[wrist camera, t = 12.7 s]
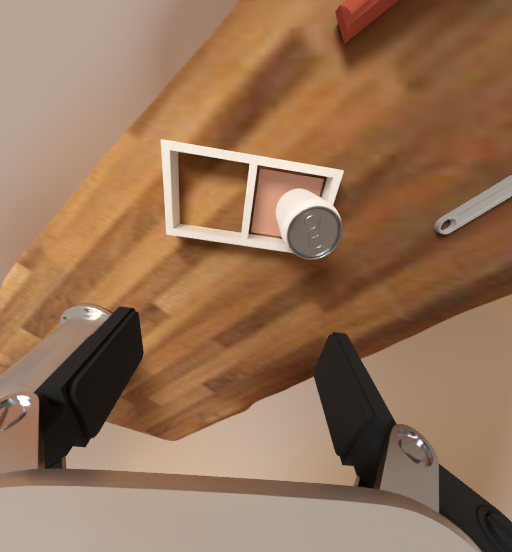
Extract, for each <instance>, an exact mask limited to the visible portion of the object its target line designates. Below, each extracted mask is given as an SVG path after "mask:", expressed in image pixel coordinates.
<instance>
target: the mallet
mask: <svg viewBox="0 0 512 552" xmlns="http://www.w3.org/2000/svg"><path fill="white" fill-rule="evenodd" d="M397 1H399V0H346V1H345V2H344V3H342V4H341V5H340V6H339V7H338V9H337V10H336V17H337V21H338V24H339V27H340V31H341V34H342V38H343V41H344V43H346V42H347V41H349V40H350V39H351V38H352V37H354V36H355V35H356V34H357V33H359V32H360V31H361V30H362V29H364V28H365V27H366V26H367V25H369V24H370V23H371V22H372V21H374V20H375V19H376V18H377V17H379V16H380V15H381V14H382V13H384V12H385V11H386V10H387V9H389V8H390V7H391V6H392V5H394V4H395V3H396V2H397Z"/></svg>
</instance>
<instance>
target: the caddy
mask: <svg viewBox="0 0 512 552" xmlns="http://www.w3.org/2000/svg"><path fill="white" fill-rule="evenodd" d="M161 149H162V166H163V183H164V200H165V218H166V234H167V235H174V236H181V237H188V238H195V239H201V240H208V241H215V242H222V243H229V244H235V245H242V246H249V247H256V248H263V249H269V250H276V251H283V252H290V253H292V252H291V251H290V250H289V249H288V248H287V247H286V245H285V244H284V242H283V239H279V238H272V237H266V236H259V235H252V234H248V233H249V225H250V218H251V211H252V203H253V196H254V188H255V181H256V173H257V166H258V165H261V166H267V167H273V168H279V169H285V170H291V171H297V172H303V173H308V174H314V175H320V176H326V177H327V179H326V183H325V186H324V190H323V193H322V197H321V198H322V199H324V200H326V201H327V202H329V203H330V204H331V205H333V204H334V201H335V198H336V194H337V191H338V188H339V185H340V182H341V178H342V175H343V172H344V170H338V169H332V168H326V167H321V166H315V165H309V164H303V163H297V162H291V161H286V160H280V159H274V158H268V157H262V156H256V155H251V154H245V153H239V152H233V151H227V150H221V149H216V148H210V147H204V146H198V145H192V144H186V143H180V142H175V141H169V140H163V139H161ZM178 152H184V153H190V154H196V155H202V156H208V157H214V158H220V159H226V160H231V161H237V162H243V163H249V164H250V165H249V173H248V181H247V190H246V198H245V207H244V215H243V224H242V232H241V233H239V232H232V231H226V230H219V229H212V228H206V227H199V226H193V225H186V224H180V207H179V168H178ZM323 181H324V179H320V178H314V177H308V176H302V175H296V174H290V173H284V172H278V171H273V170H267V169H261V168H260V172H259V180H258V187H257V194H256V201H255V208H254V215H253V222H252V229H251V232H253V233H260V234H266V235H273V236H279V237H282V236H281V233H280V230H279V226H278V223H277V219H276V206H277V203H278V201H279V200H280V198H281V197H282V196H283V195H284V194H285V193H287V192H288V191H290V190H293V189H298V188H299V189H305V190H308V191H310V192H312V193H313V194H315V195H317V196H320V192H321V188H322V185H323Z"/></svg>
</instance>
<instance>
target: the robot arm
mask: <svg viewBox="0 0 512 552" xmlns="http://www.w3.org/2000/svg"><path fill="white" fill-rule="evenodd" d="M60 323H61V326H60V327H59V328H58V329H56V330H55V331H54V332H53V333H51V334H50V335H49V336H48V337H47V338H45V339H44V340H43V341H42V342H40V343H39V344H38V345H37V346H35V347H34V348H33V349H32V350H31V351H29V352H28V353H27V354H26V355H24V356H23V357H22V358H21V359H20V360H18V361H17V362H16V363H15V364H13V365H12V366H11V367H10V368H9V369H7V370H6V371H5V372H4V373H2V374H1V375H0V552H512V522H511V521H510V520H509V519H508V518H507V517H506V516H505V515H503V514H502V513H501V512H500V511H499V510H498V509H496V508H495V507H494V506H493V505H491V504H490V503H489V502H487V501H486V500H485V499H483V498H482V497H481V496H480V495H478V494H477V493H476V492H475V491H473V490H472V489H471V488H469V487H468V486H467V485H466V484H464V483H463V482H462V481H460V480H459V479H458V478H457V477H455V476H454V475H453V474H451V473H450V472H449V471H448V470H446V469H445V468H443V467H442V466H441V465H440V464H439V462H438V457H437V455H436V453H435V451H434V449H433V447H432V446H431V445H430V443H429V442H428V441H427V440H426V439H425V438H424V436H423V435H421V434H420V433H419V432H418V431H416V430H415V429H413V428H411V427H410V426H407V425H404V424H396V423H395V421H394V419H393V417H392V415H391V413H390V411H389V410H388V408H387V406H386V404H385V402H384V401H383V399H382V397H381V395H380V393H379V391H378V390H377V388H376V386H375V384H374V383H373V381H372V379H371V377H370V375H369V373H368V372H367V370H366V368H365V366H364V365H363V363H362V361H361V359H360V358H359V356H358V354H357V352H356V350H355V348H354V347H353V345H352V343H351V341H350V339H349V338H348V336H347V334H345V333H337V332H333V333H332V335H329V336H328V339H327V341H326V343H325V346H324V348H323V350H322V353H321V355H320V358H319V360H318V362H317V365H316V367H315V370H314V378H315V381H316V385H317V389H318V392H319V396H320V400H321V403H322V406H323V410H324V414H325V417H326V421H327V424H328V428H329V431H330V435H331V439H332V442H333V446H334V449H335V452H336V454H337V455H338V456H340V459H341V462H342V465H349V466H354V468H355V471H356V474H357V477H356V480H355V484H354V486H343V485H332V484H319V483H305V482H290V481H276V480H260V479H245V478H229V477H212V476H197V475H180V474H163V473H145V472H128V471H110V470H84V469H83V470H82V469H66V457H65V456H66V455H67V454H68V453H69V451H70V450H71V448H72V447H73V446H77V447H86V445H87V444H88V442H89V440H90V439H91V438H94V437H95V436H96V435H97V434H98V432H99V431H100V429H101V428H102V426H103V424H104V422H105V421H106V419H107V417H108V416H109V414H110V412H111V411H112V409H113V407H114V405H115V404H116V402H117V400H118V399H119V397H120V395H121V394H122V392H123V390H124V389H125V387H126V385H127V383H128V382H129V380H130V378H131V377H132V375H133V373H134V372H135V370H136V368H137V366H138V365H139V363H140V361H141V360H142V357H143V344H142V337H141V329H140V321H139V314H138V312H135V309H134V308H128V307H119V308H117V310H116V311H115V312H114V313H113V314H112V313H111V312H109V311H107V310H105V309H103V308H101V307H98V306H94V305H89V304H79V305H75V306H72V307H70V308H69V309H67V310H66V311H65V312H64V313H63V314H62V316H61V319H60Z"/></svg>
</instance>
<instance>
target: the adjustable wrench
mask: <svg viewBox="0 0 512 552" xmlns="http://www.w3.org/2000/svg"><path fill="white" fill-rule="evenodd" d="M511 196H512V175H510V176H509V177H507V178H505V179H504V180H502V181H501V182H499V183H497V184H496V185H494V186H492V187H491V188H489V189H487V190H486V191H484V192H482V193H481V194H479V195H477V196H476V197H474V198H472V199H471V200H469V201H468V202H466V203H464V204H463V205H461V206H459V207H458V208H456V209H454V210H453V211H451V212H449V213H448V214H446V215H444V216H443V217H441V218H440V219H438V220H437V222H436V223H435V226H434V229H435V231H437V232H439V233H441V234H449V233H451V232H453V231H454V230H456V229H458V228H459V227H461V226H463V225H464V224H466V223H468V222H469V221H471V220H473V219H474V218H476V217H478V216H480V215H481V214H483V213H485V212H486V211H488V210H490V209H491V208H493V207H495V206H496V205H498V204H500V203H501V202H503V201H505V200H506V199H508V198H510V197H511ZM446 220H450V224H449V226H448V227H447V228H446V229H444V230H441V229H440V228H441V225H442V224H443V222H445V221H446Z"/></svg>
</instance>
